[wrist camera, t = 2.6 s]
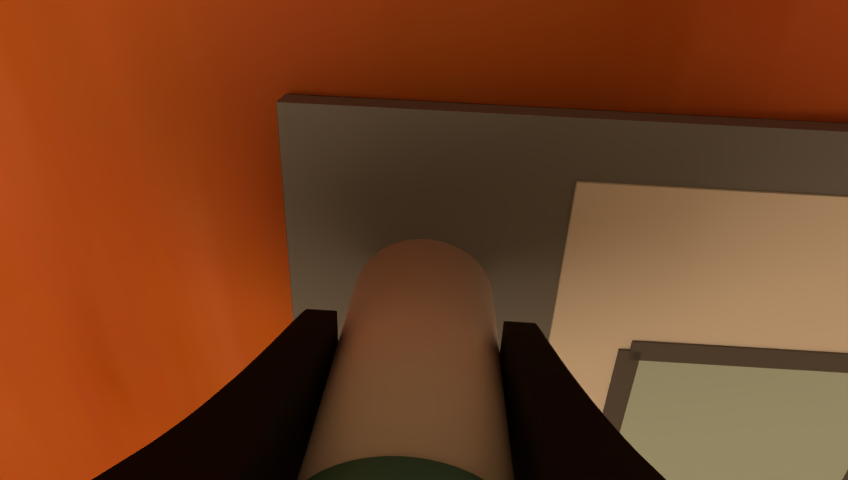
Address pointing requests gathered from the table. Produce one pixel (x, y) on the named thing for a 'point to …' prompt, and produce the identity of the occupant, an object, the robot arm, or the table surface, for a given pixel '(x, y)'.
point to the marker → (414, 375)
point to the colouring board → (612, 257)
